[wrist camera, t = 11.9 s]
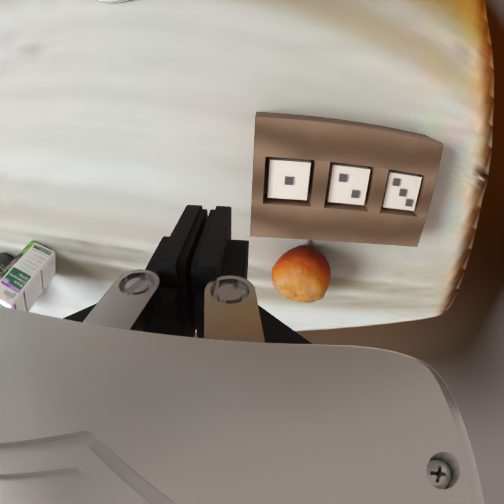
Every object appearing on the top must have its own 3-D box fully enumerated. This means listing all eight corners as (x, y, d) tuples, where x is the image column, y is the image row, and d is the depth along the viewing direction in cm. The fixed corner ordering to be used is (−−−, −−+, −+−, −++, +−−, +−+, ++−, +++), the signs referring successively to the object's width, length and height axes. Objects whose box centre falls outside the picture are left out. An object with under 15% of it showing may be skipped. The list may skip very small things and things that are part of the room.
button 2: (329, 160, 34) (333, 165, 32) (365, 164, 34) (371, 169, 32) (324, 195, 37) (328, 202, 35) (359, 198, 37) (364, 206, 35)
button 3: (384, 167, 34) (390, 172, 32) (415, 172, 34) (422, 178, 32) (377, 200, 37) (383, 208, 35) (407, 204, 36) (414, 211, 35)
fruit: (349, 258, 42) (335, 307, 38) (310, 270, 49) (294, 313, 45) (313, 222, 40) (293, 271, 36) (275, 238, 46) (254, 283, 42)
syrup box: (56, 250, 46) (10, 304, 33) (56, 275, 48) (16, 329, 36) (32, 239, 45) (-15, 289, 32) (33, 264, 47) (-9, 314, 35)
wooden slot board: (256, 112, 34) (255, 117, 30) (424, 135, 34) (443, 144, 29) (251, 217, 41) (250, 236, 37) (403, 228, 41) (417, 246, 37)
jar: (-6, 272, 50) (-25, 294, 43) (-4, 241, 45) (-27, 262, 39) (25, 297, 52) (8, 321, 46) (30, 267, 48) (9, 292, 42)
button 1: (269, 155, 34) (269, 160, 32) (308, 158, 34) (311, 163, 32) (267, 191, 37) (267, 198, 35) (304, 194, 37) (306, 201, 35)
